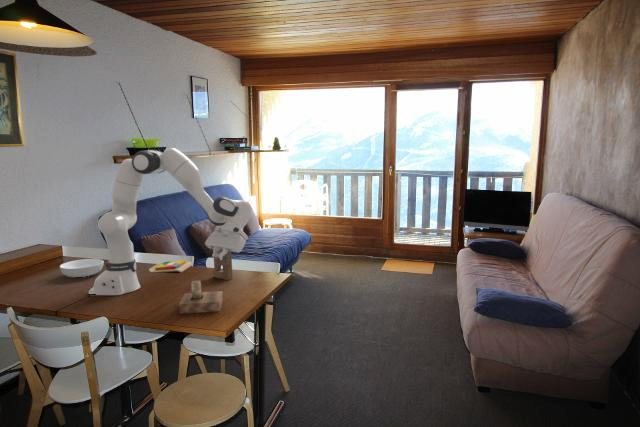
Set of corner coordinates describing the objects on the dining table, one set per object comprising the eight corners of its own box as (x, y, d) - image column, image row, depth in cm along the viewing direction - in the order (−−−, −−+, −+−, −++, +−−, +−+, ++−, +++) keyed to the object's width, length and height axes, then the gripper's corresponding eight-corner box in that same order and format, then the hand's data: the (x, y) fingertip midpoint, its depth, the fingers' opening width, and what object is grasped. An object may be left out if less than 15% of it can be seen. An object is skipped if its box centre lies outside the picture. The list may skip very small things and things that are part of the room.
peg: (192, 308, 185) (190, 283, 183) (193, 305, 189) (191, 280, 187) (201, 308, 185) (199, 283, 184) (202, 304, 189) (201, 280, 187)
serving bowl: (99, 279, 230) (98, 266, 229) (55, 283, 225) (53, 270, 224) (108, 268, 250) (107, 257, 249) (67, 272, 245) (66, 260, 244)
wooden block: (227, 280, 224) (226, 245, 221) (212, 277, 229) (211, 243, 227) (232, 278, 227) (231, 244, 224) (218, 275, 232) (216, 242, 230)
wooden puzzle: (162, 264, 258) (162, 258, 258) (193, 265, 256) (193, 259, 256) (148, 273, 241) (147, 267, 241) (180, 273, 239) (180, 267, 239)
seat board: (179, 313, 179) (179, 304, 179) (185, 301, 193) (185, 293, 192) (219, 311, 181) (219, 302, 181) (222, 299, 195) (222, 291, 194)
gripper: (211, 226, 204) (196, 250, 198) (243, 229, 193) (229, 256, 187) (218, 233, 209) (204, 258, 202) (251, 237, 198) (237, 263, 191)
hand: (216, 257), depth 194 cm, fingers closed
